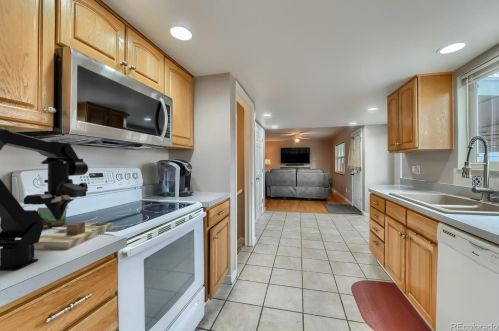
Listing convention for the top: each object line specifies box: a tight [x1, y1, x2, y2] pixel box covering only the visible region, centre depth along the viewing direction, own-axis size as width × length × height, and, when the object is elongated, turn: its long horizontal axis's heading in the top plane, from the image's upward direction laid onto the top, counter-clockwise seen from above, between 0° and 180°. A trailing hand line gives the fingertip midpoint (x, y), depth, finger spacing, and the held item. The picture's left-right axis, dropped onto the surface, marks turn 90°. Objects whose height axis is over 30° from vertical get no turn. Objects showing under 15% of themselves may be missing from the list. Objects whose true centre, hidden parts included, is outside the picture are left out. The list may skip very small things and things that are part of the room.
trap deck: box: [33, 222, 114, 250], centre depth 88 cm, size 24×16×3 cm, turn 179°
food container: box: [36, 204, 69, 230], centre depth 102 cm, size 12×6×10 cm, turn 168°
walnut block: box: [66, 221, 86, 235], centre depth 85 cm, size 4×4×4 cm
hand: (58, 219), depth 77 cm, fingers closed
